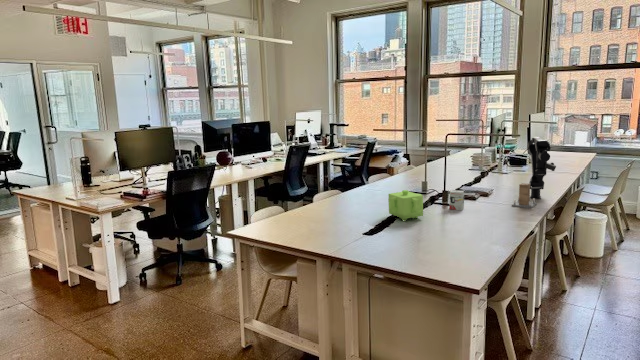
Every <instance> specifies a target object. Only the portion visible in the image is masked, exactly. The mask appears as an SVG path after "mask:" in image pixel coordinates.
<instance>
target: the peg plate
mask: <svg viewBox="0 0 640 360" xmlns="http://www.w3.org/2000/svg"><path fill="white" fill-rule="evenodd" d="M537 205H538V204H537V202H536V198H532V201H531V200H530V201H529V204H528V205H522V204H519V196H518V197H517V200H516V199H513V203H512V204H511V207H515V208H525V209H526V208H527V209H533V208H534V207H535V206H537Z"/></svg>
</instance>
